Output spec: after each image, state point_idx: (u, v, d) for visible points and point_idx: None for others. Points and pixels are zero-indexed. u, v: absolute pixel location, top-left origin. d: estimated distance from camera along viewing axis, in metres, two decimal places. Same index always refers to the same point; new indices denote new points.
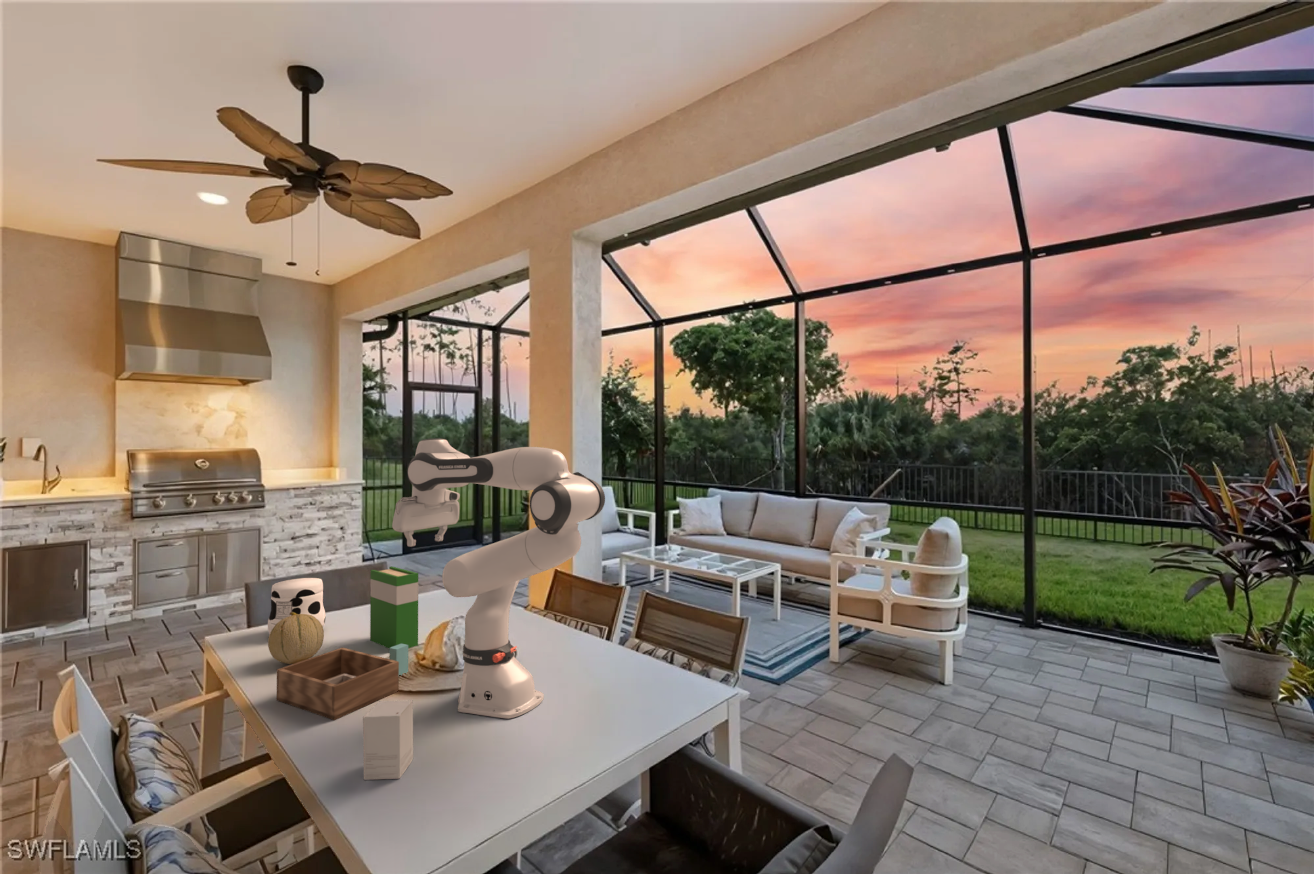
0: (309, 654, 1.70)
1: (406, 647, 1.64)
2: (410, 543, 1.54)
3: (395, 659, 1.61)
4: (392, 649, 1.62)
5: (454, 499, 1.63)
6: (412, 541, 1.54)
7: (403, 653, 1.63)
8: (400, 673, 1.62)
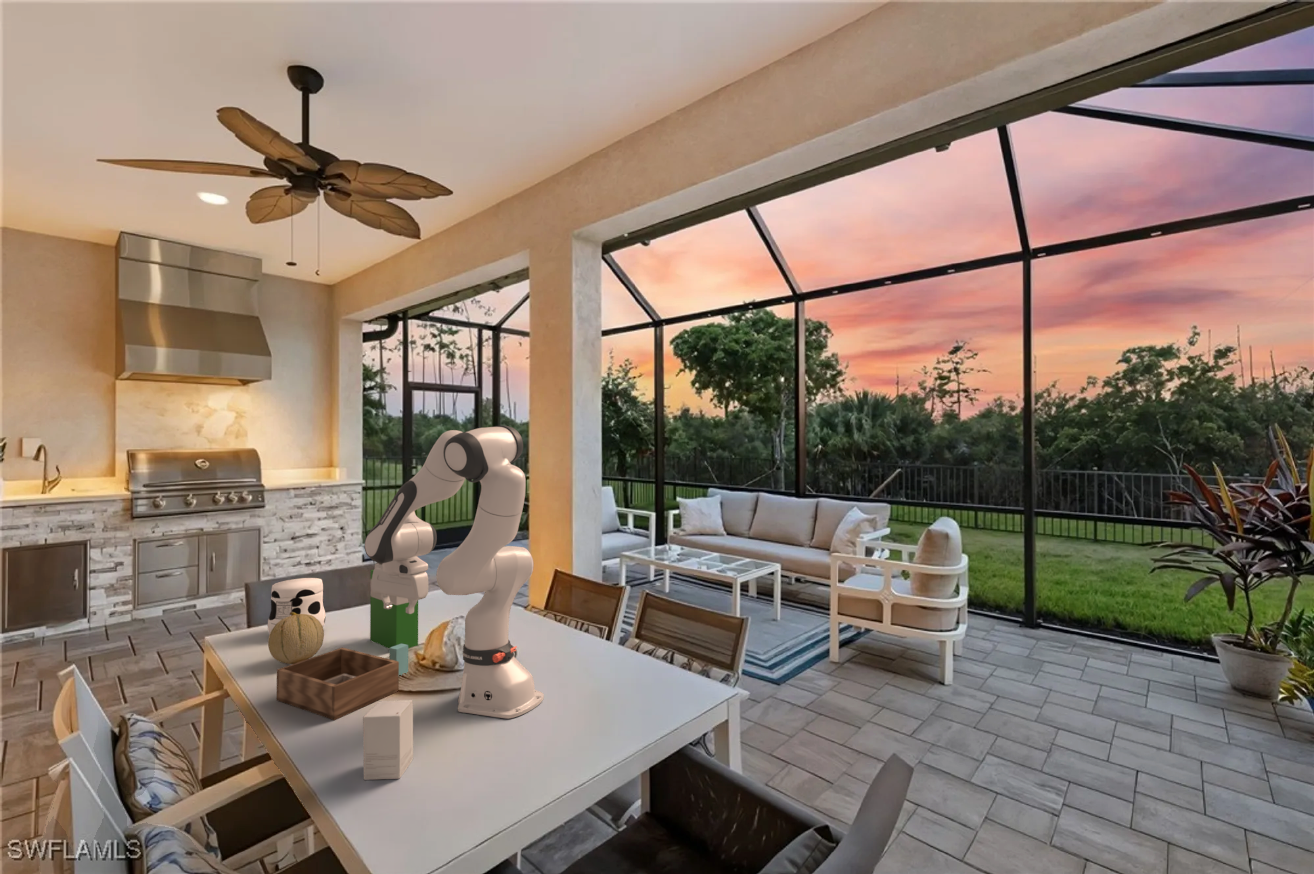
0: (309, 654, 1.70)
1: (406, 647, 1.64)
2: None
3: (395, 659, 1.61)
4: (392, 649, 1.62)
5: (404, 572, 1.58)
6: (384, 604, 1.66)
7: (403, 653, 1.63)
8: (400, 673, 1.62)
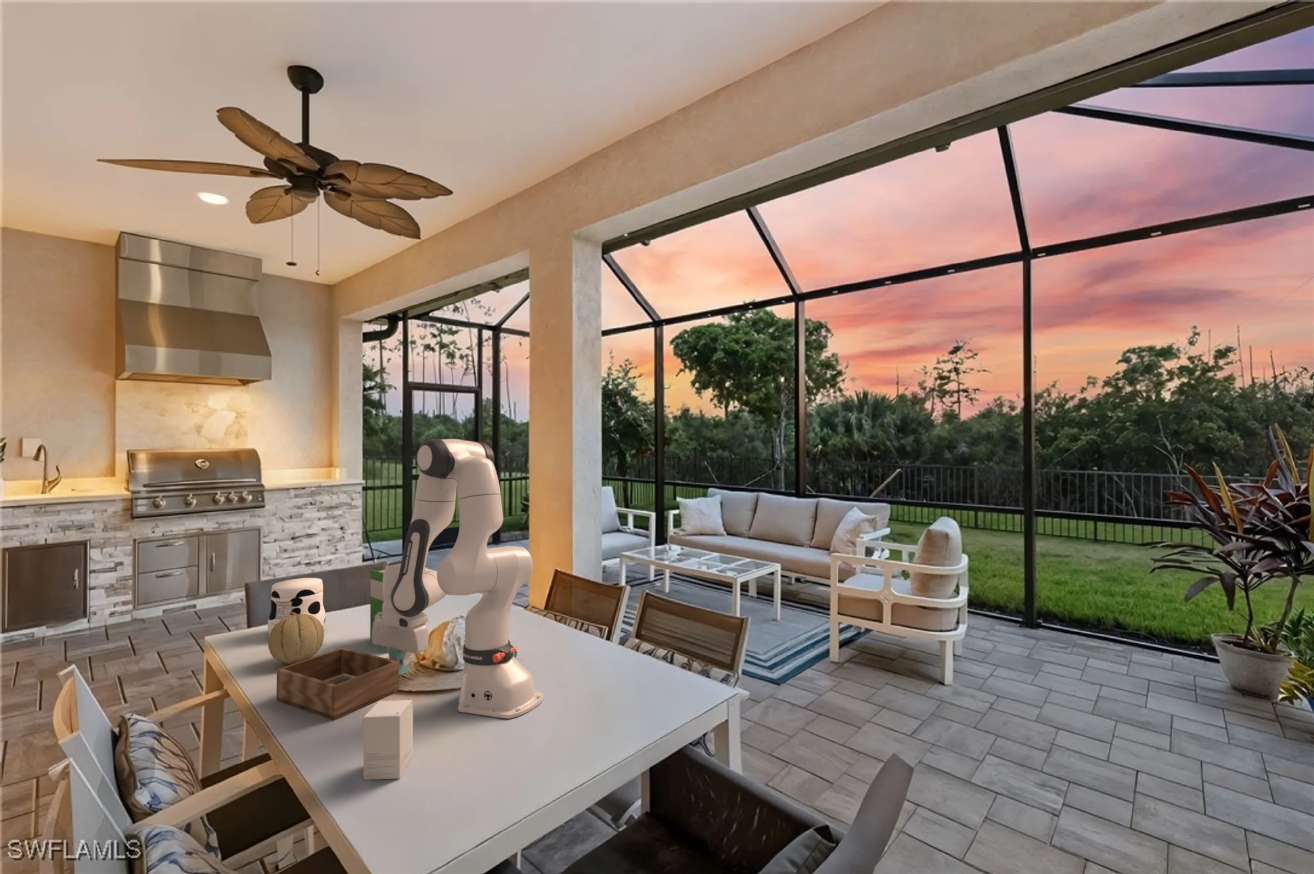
0: (309, 654, 1.70)
1: None
2: None
3: (395, 659, 1.61)
4: (392, 649, 1.62)
5: (404, 626, 1.58)
6: None
7: None
8: (400, 673, 1.62)
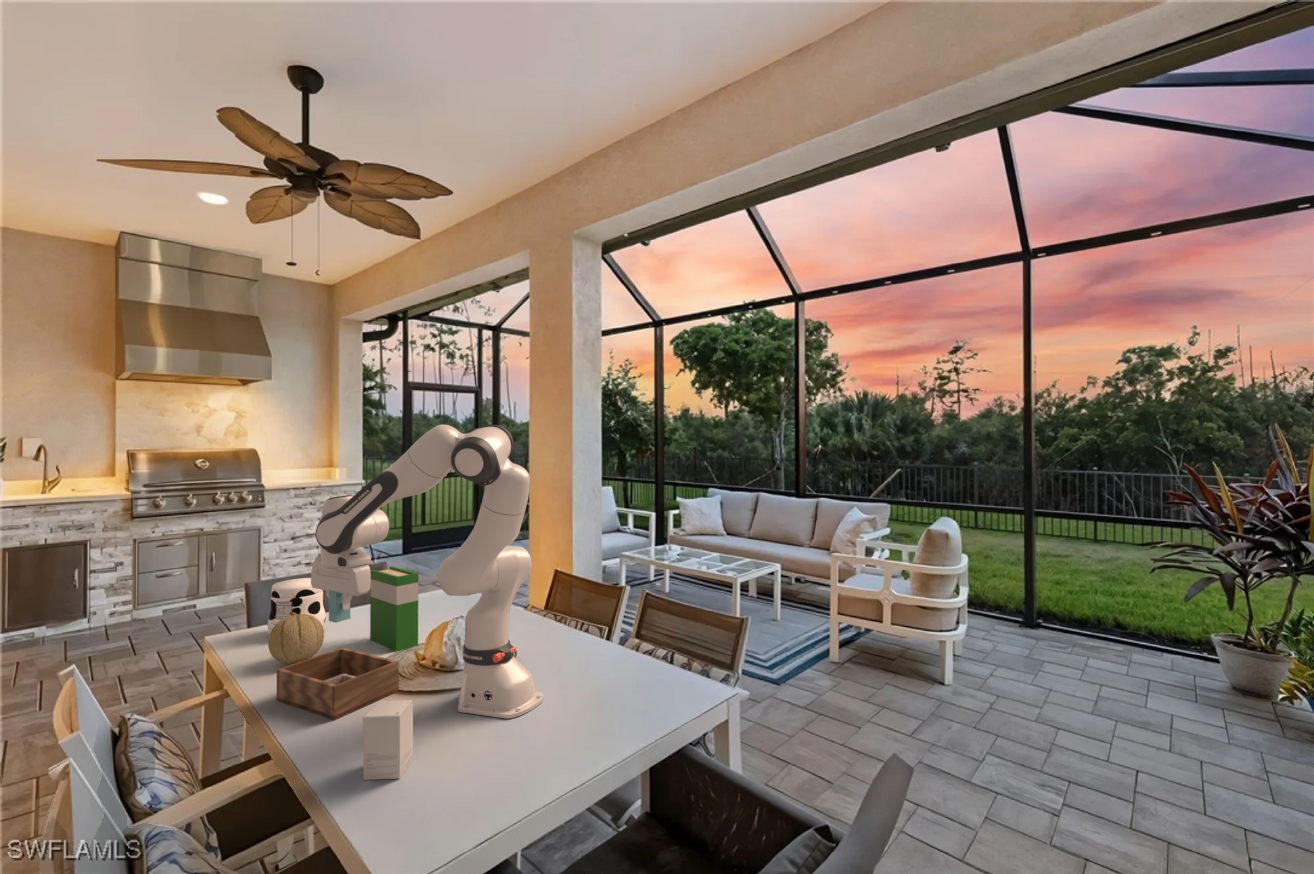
0: (309, 654, 1.70)
1: None
2: None
3: (335, 603, 1.48)
4: (332, 592, 1.48)
5: (343, 565, 1.44)
6: None
7: None
8: (340, 618, 1.49)
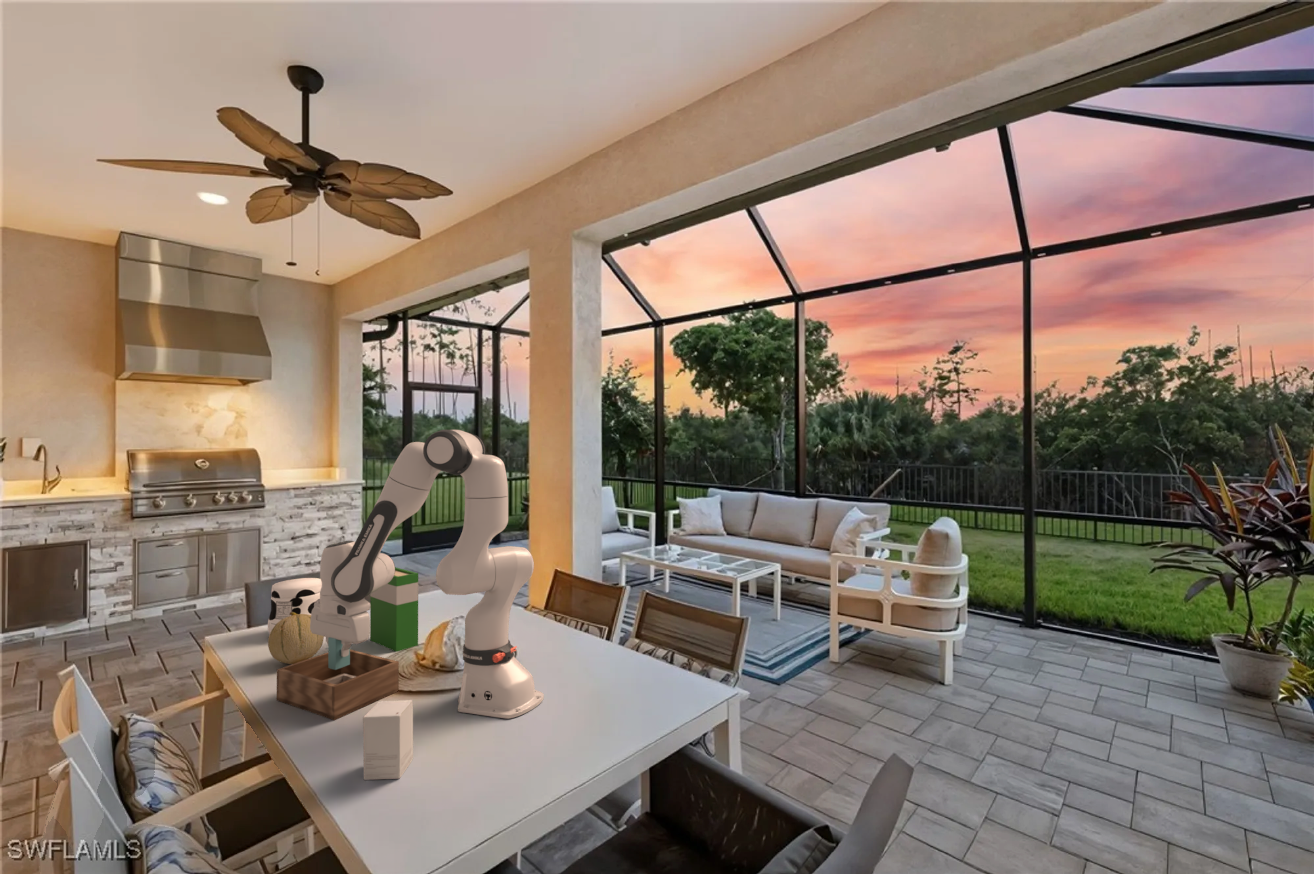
0: (309, 654, 1.70)
1: None
2: None
3: (334, 650, 1.47)
4: (331, 639, 1.48)
5: (342, 614, 1.44)
6: None
7: None
8: (340, 665, 1.48)
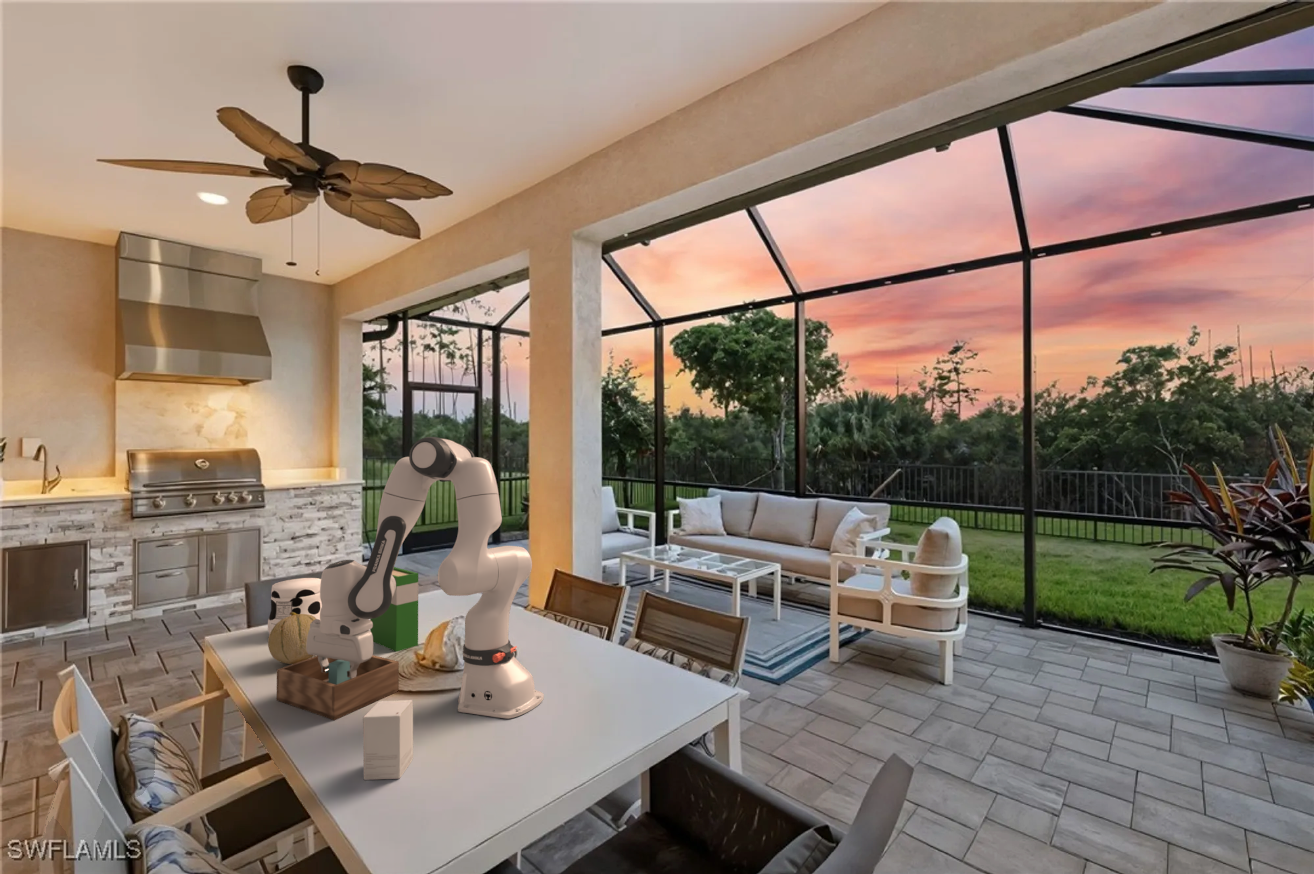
0: None
1: (348, 662, 1.50)
2: None
3: (335, 676, 1.47)
4: (332, 665, 1.48)
5: (346, 633, 1.44)
6: (322, 667, 1.50)
7: (344, 668, 1.49)
8: None
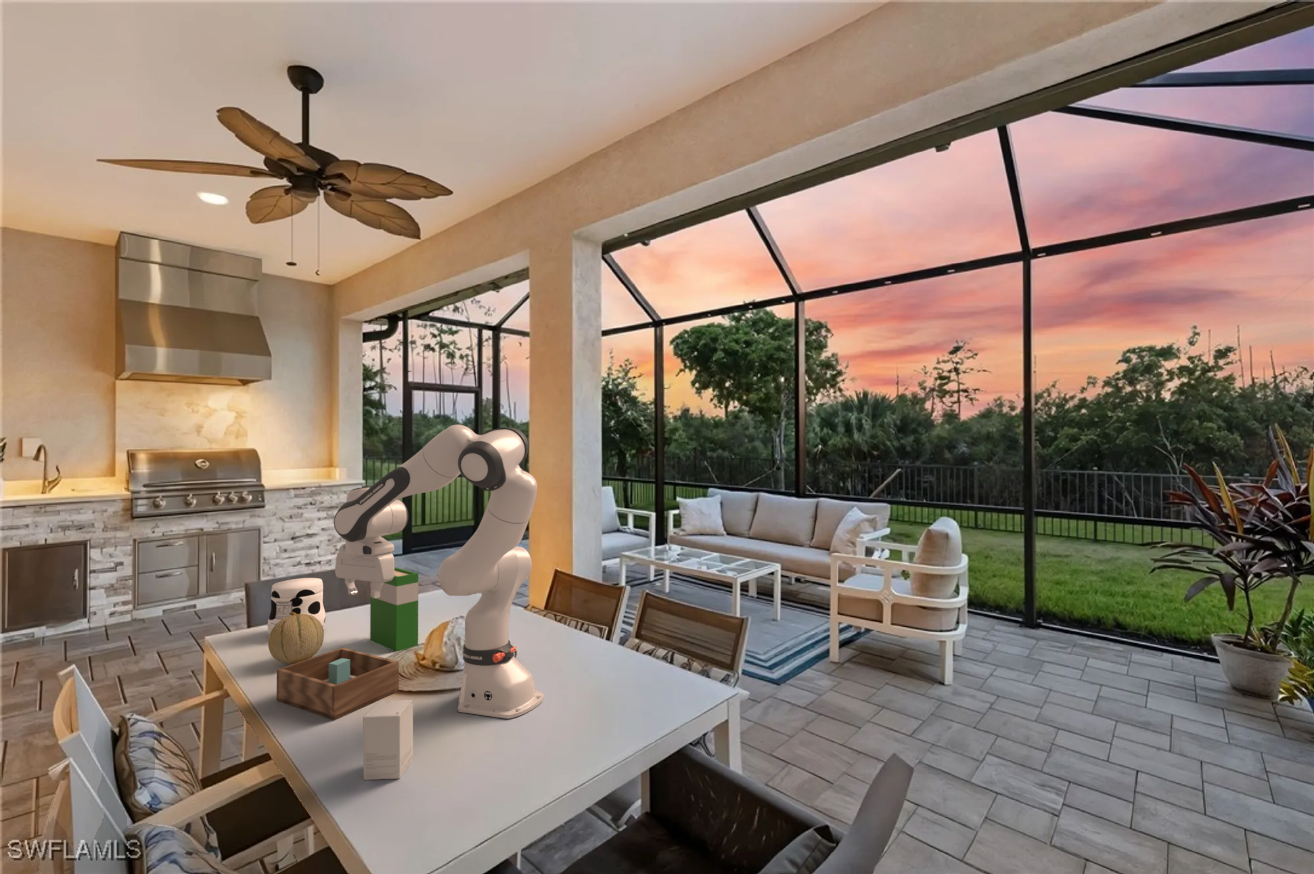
0: (309, 654, 1.70)
1: (348, 662, 1.50)
2: None
3: (335, 676, 1.47)
4: (332, 665, 1.48)
5: (368, 554, 1.49)
6: (348, 589, 1.56)
7: (344, 668, 1.49)
8: None
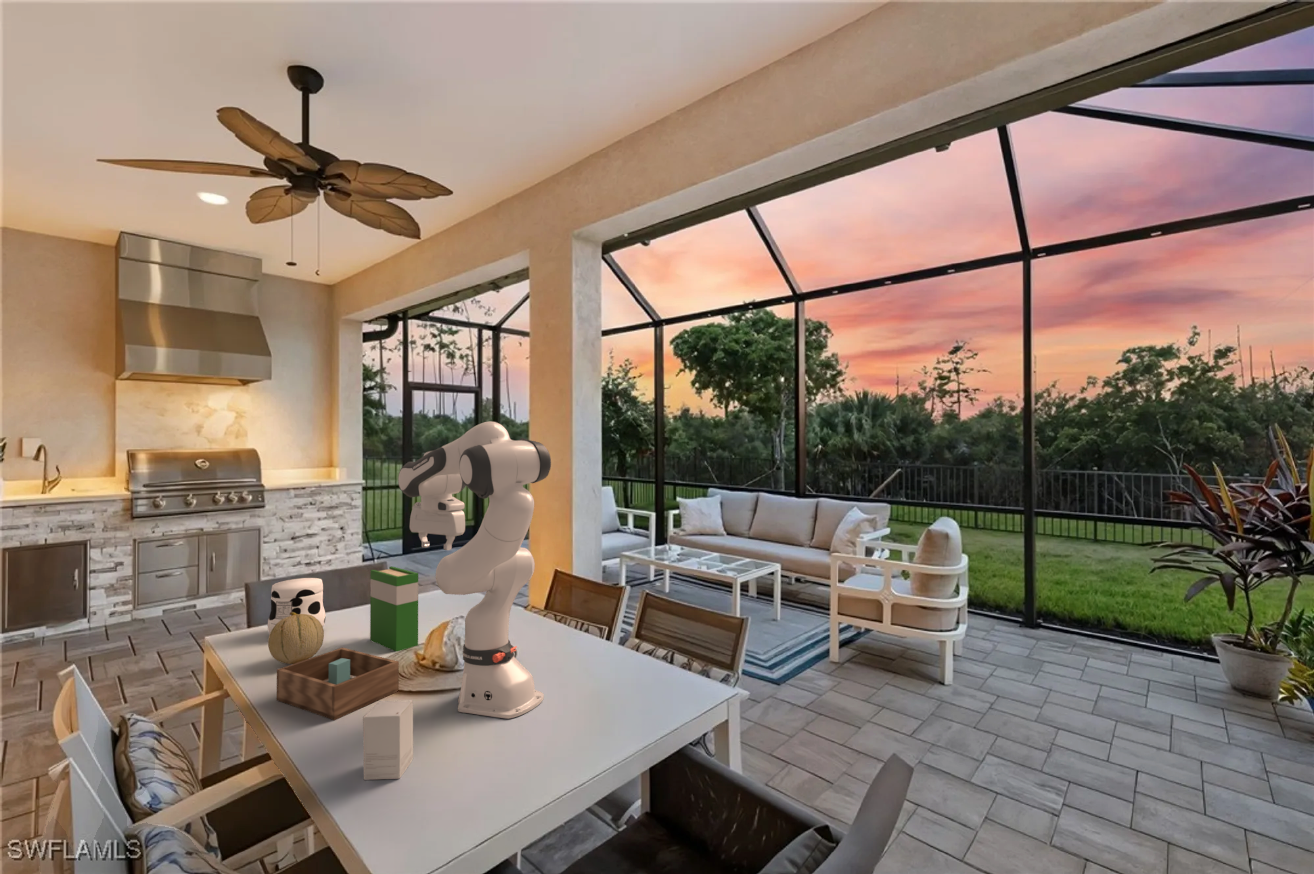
0: (309, 654, 1.70)
1: (348, 662, 1.50)
2: None
3: (335, 676, 1.47)
4: (332, 665, 1.48)
5: (443, 509, 1.66)
6: (422, 542, 1.73)
7: (344, 668, 1.49)
8: None
